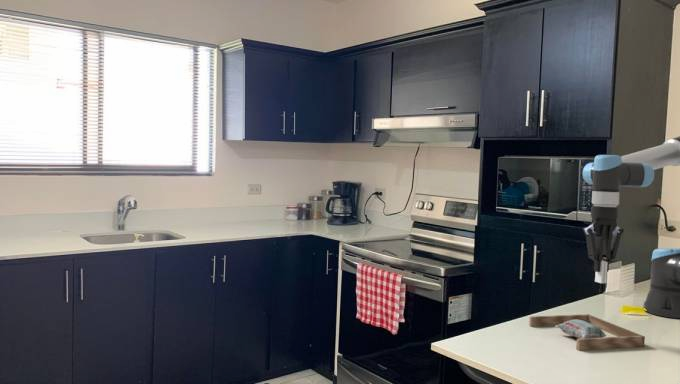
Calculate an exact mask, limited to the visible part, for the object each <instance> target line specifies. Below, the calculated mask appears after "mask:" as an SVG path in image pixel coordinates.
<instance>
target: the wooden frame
mask: <svg viewBox="0 0 680 384" xmlns="http://www.w3.org/2000/svg"><path fill="white" fill-rule="evenodd" d="M574 319H578V320H583V321H586V322H588V323H591V324H593V325H596V326H598V327H599V328H600V329H601V330H602V331H603V332H606V333H609V334H610V335H614V336H608V337H607V336H606V337H603V338H583V339H578V338H576V350H577V351H593V350H596V351H597V350H609V349H611V350H613V349H626V348H627V349H629V348H643V347H645V341H646V339H645V338H646V337H645V336H644V335H642V334H639V333H637V332H634V331H631V330H629V329H626V328H624V327H622V326H619V325H616V324H614V323H611V322H609V321H607V320H604V319H602V318H599V317H596V316H593V315H590V314H588V313H586V314H584V313H583V314H562V315H539V316H538V315H537V316H535V315H534V316H529V321H528V324H529V325H528V326H529V327H533V328H534V327H546V326H547V327H548V326H549V327H550V326H551V327H552V326H556V325H559V324H563V323H564V322H566V321H569V320H574Z"/></svg>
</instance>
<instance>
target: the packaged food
mask: <svg viewBox="0 0 680 384" xmlns="http://www.w3.org/2000/svg"><path fill="white" fill-rule="evenodd" d="M554 327H555V328H558V329H560V331H561V332H562V333H564V334H565V335H569V336H571V337H573V338H575V339H583V338H603V337H607V335H606V333H605V331H604V330H602V329H600V328H599V327H598V326H596V325H593V324H591V323H588V322H586V321H583V320H578V319H574V320H569V321H566V322H564V323H563V324H559V325H554Z"/></svg>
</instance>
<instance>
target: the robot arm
mask: <svg viewBox="0 0 680 384" xmlns="http://www.w3.org/2000/svg"><path fill="white" fill-rule="evenodd" d="M669 166H671V167H679V166H680V136H676V137H674V138H670V139H667V140H666V141H664V142H663V143H662V144H660V145H657V146H654V147H649V148H646V149H642V150H639V151H636V152H631V153H628V154H624V155H618V154H598V155H596V156H595V157H594V160H593V162H589V163H587V164H585V165H584V167H583V169H582V178H583V180H584V182H585V183H587V184H589V185H592V189H591V190H592V191H591V193H592V194H591V204H592V206H591V207H590V209H591V210H590V217H591V220H590V221H591V222H590V225H589V226H587V227H583V228H582V231H583V232H584V235H585V240H586V248H587V255H588V259H591V260H592V261H593V262H594V263H593V264H594V265H593V271H594V272H595V274H594V275H595V277H594V282H595V283H599V284H607V277H608V276H607V275H608V272H609V269H610V263H612V262H613V260H616V257H617V252H618V249H619V245H620V242H621V238H622V235H623V233H624V232H625V231H624V230H625V229H624V228H620V227H619V225H618V223H617V219H618V218H619V211H620V210H619V209H620V208H619V207H618V206H619V205H620V192H621V191H620V190H621V189H620V188H621V187H623V188H624V187H627V188H646V187H649V186H650V185H651V184H652V183H653V182H654V180H655V171H656V170H658V169H661V168H665V167H669ZM650 262H651V263H650V285H649V290H648V293H647V295H646V299H645V301H643V308H645V309H646V310H647V311H648V312H649V313H648V312H647V313H648V314H652V315H655V316H660V317H665V318H672V319H680V248H671V247H670V248H666V247H665V248H655V249H654V250H653V251H652V256H651V259H650ZM643 308H642V309H643Z"/></svg>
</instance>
